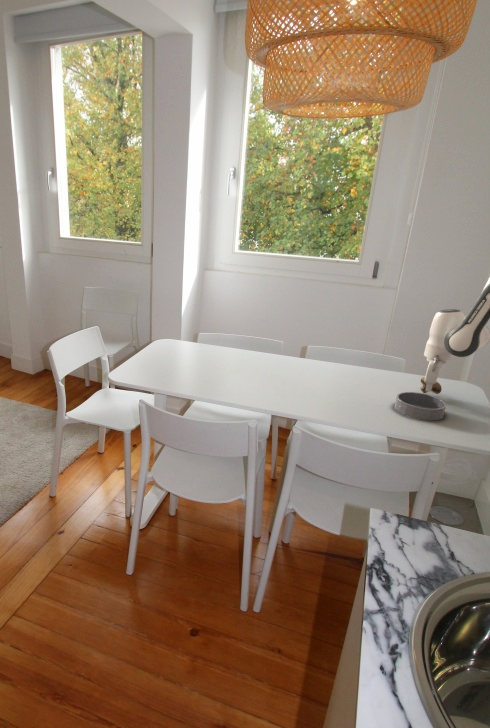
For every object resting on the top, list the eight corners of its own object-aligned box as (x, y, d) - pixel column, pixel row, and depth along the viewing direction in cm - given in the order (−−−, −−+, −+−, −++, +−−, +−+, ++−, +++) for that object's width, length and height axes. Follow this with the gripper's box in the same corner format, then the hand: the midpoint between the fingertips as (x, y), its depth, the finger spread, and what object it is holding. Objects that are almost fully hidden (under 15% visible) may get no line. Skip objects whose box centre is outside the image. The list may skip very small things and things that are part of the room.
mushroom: (416, 386, 175) (428, 373, 173) (412, 386, 182) (424, 374, 181) (434, 400, 173) (447, 387, 171) (430, 399, 180) (442, 387, 179)
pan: (444, 410, 167) (447, 398, 165) (440, 425, 155) (444, 413, 154) (398, 399, 175) (400, 388, 173) (390, 413, 163) (393, 402, 162)
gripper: (445, 361, 162) (436, 398, 168) (450, 347, 178) (441, 381, 183) (425, 358, 166) (416, 394, 171) (431, 344, 181) (423, 378, 187)
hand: (429, 387), depth 177 cm, fingers closed on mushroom, 7 cm apart
